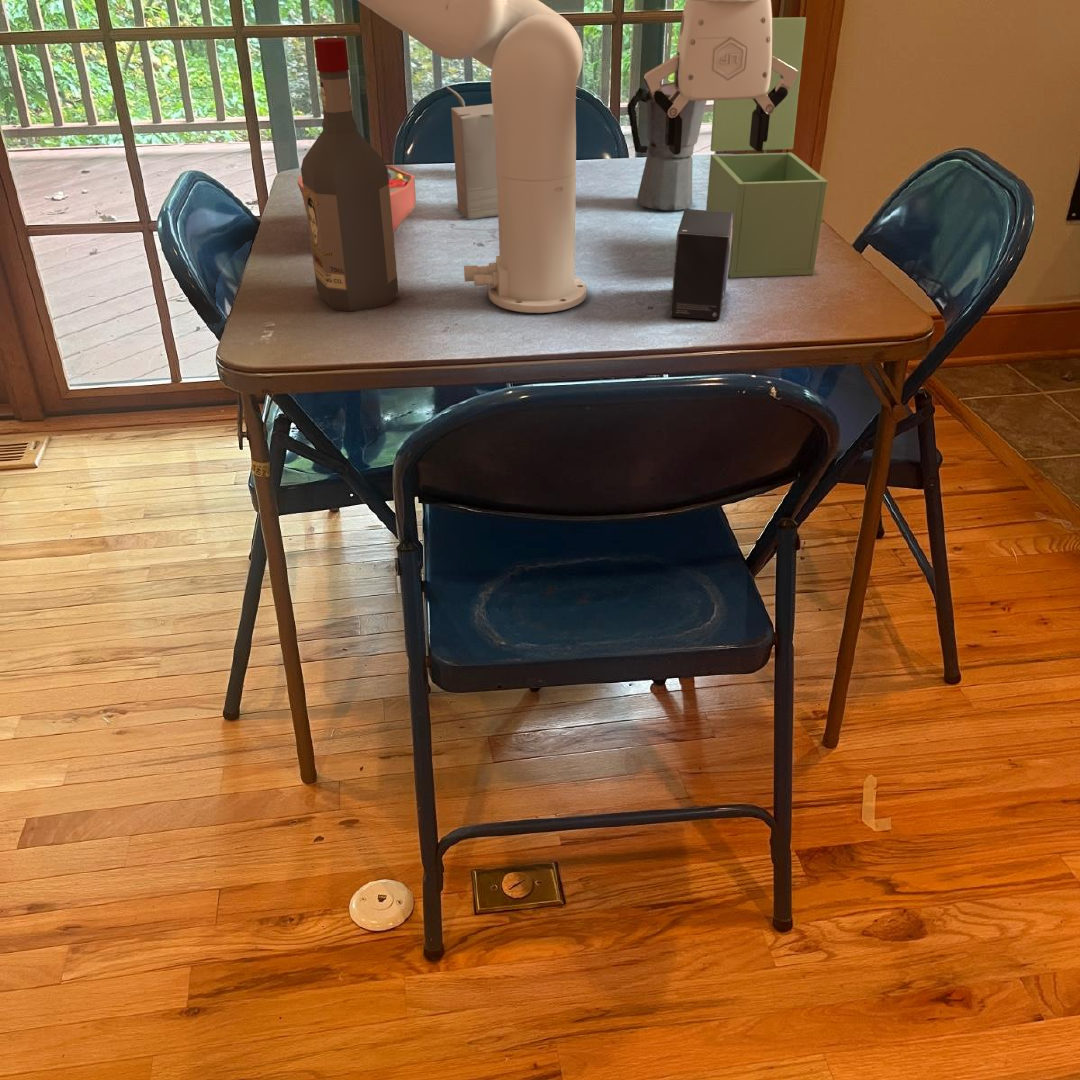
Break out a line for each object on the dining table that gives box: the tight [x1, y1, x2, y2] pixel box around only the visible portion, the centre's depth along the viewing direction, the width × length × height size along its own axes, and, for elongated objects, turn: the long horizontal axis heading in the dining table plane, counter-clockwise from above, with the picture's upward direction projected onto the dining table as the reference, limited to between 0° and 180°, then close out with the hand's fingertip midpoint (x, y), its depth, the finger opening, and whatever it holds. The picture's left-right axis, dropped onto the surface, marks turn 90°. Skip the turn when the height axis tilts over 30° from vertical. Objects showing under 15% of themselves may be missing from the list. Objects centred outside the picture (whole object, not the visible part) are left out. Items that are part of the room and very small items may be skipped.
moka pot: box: [626, 81, 707, 211], centre depth 157 cm, size 10×15×20 cm, turn 124°
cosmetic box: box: [450, 103, 498, 220], centre depth 156 cm, size 8×7×16 cm
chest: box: [705, 151, 828, 279], centre depth 138 cm, size 16×12×12 cm
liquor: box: [300, 37, 399, 312], centre depth 121 cm, size 9×9×30 cm
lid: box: [710, 16, 807, 152], centre depth 136 cm, size 16×12×1 cm
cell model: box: [296, 165, 417, 234], centre depth 147 cm, size 17×20×11 cm
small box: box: [669, 208, 733, 321], centre depth 123 cm, size 11×6×10 cm, turn 168°
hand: (715, 150), depth 117 cm, fingers open, 9 cm apart
